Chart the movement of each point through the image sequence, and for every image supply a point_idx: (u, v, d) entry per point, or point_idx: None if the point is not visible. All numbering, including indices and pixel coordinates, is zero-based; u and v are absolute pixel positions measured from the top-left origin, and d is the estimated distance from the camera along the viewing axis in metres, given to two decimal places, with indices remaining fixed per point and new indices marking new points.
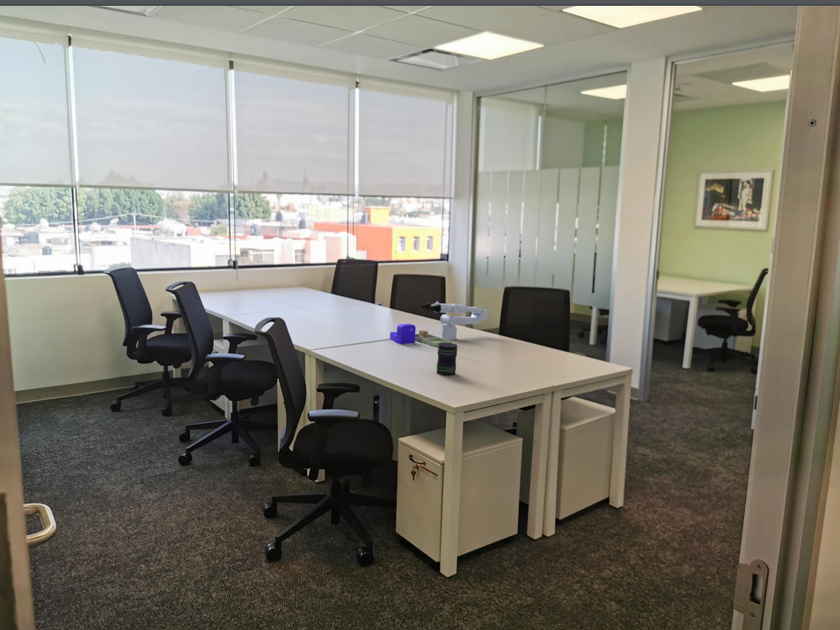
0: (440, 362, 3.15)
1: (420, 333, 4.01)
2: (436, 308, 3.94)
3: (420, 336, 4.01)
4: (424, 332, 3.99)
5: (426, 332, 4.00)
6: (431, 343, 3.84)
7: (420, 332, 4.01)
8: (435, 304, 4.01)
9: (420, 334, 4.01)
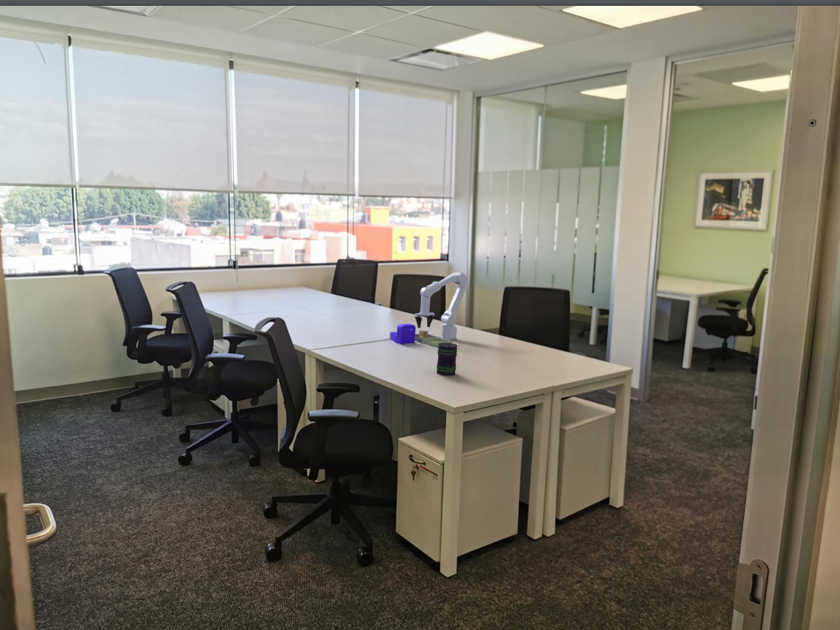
0: (440, 362, 3.15)
1: (420, 333, 4.01)
2: None
3: (420, 336, 4.01)
4: (424, 332, 3.99)
5: (426, 332, 4.00)
6: (431, 343, 3.84)
7: (420, 332, 4.01)
8: None
9: (420, 334, 4.01)
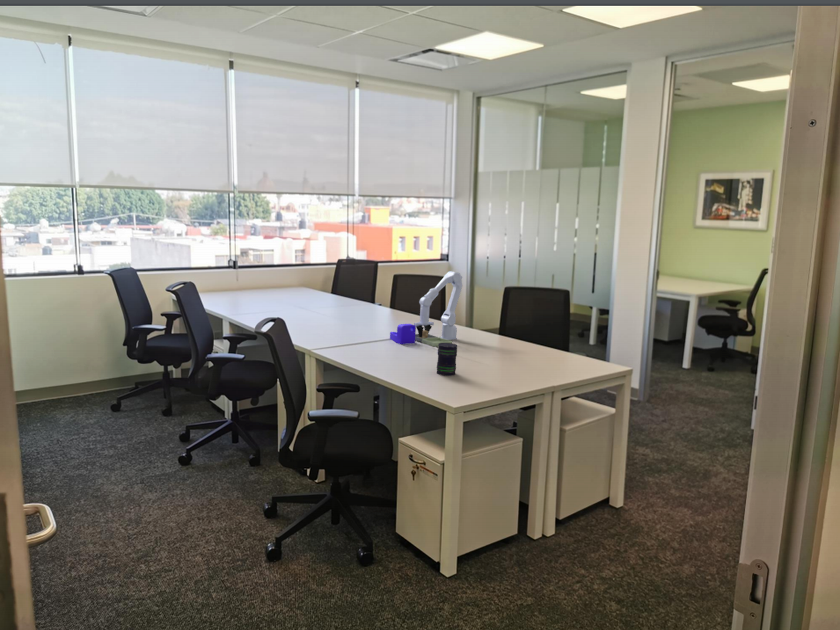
0: (440, 362, 3.15)
1: None
2: (420, 329, 3.99)
3: None
4: (424, 332, 3.99)
5: (426, 332, 4.00)
6: (431, 343, 3.84)
7: None
8: None
9: None
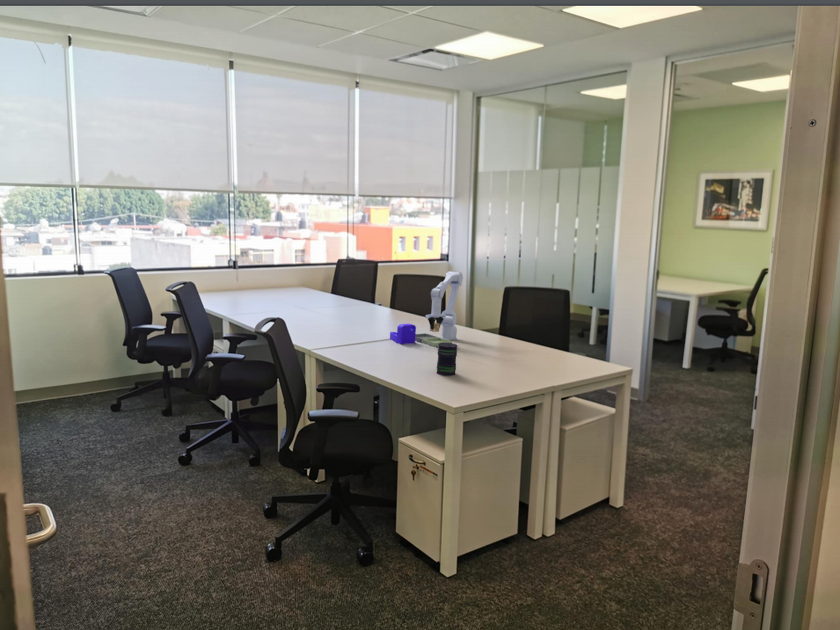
0: (440, 362, 3.15)
1: None
2: (431, 321, 3.89)
3: (431, 329, 3.91)
4: (435, 324, 3.90)
5: (437, 324, 3.91)
6: (431, 343, 3.84)
7: None
8: None
9: None
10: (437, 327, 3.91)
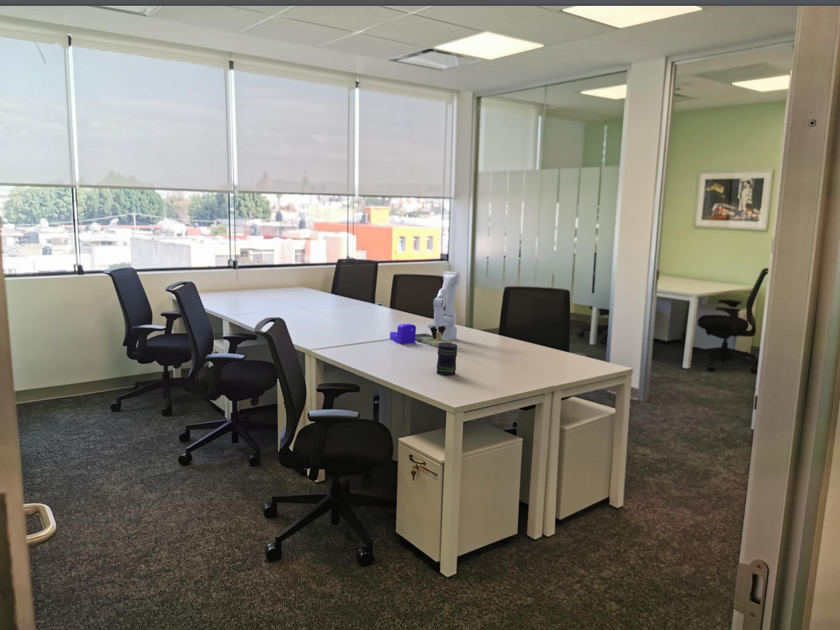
0: (440, 362, 3.15)
1: None
2: None
3: None
4: (438, 334, 3.89)
5: (439, 334, 3.90)
6: (431, 343, 3.84)
7: None
8: None
9: None
10: (439, 336, 3.90)
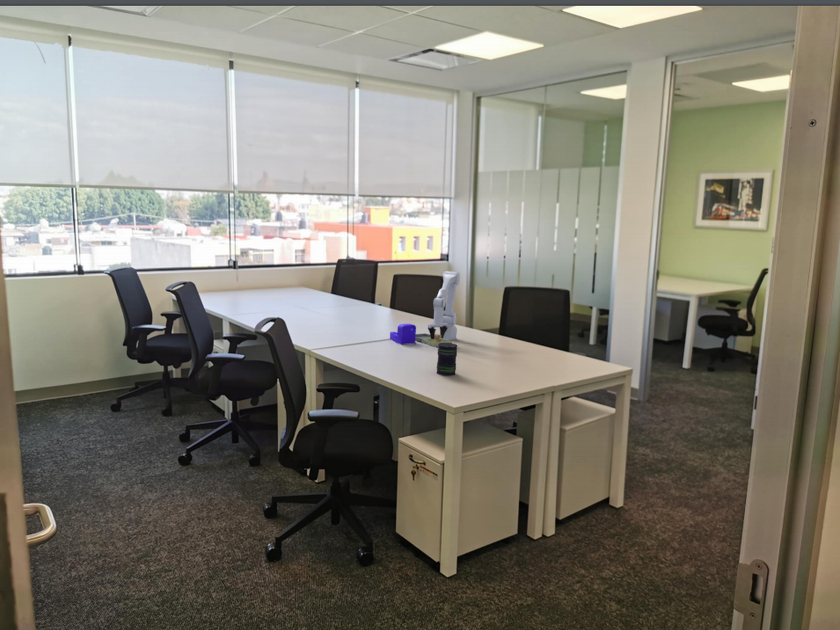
0: (440, 362, 3.15)
1: None
2: None
3: (433, 340, 3.90)
4: (437, 336, 3.89)
5: (439, 336, 3.90)
6: (431, 343, 3.84)
7: None
8: None
9: None
10: (439, 338, 3.90)
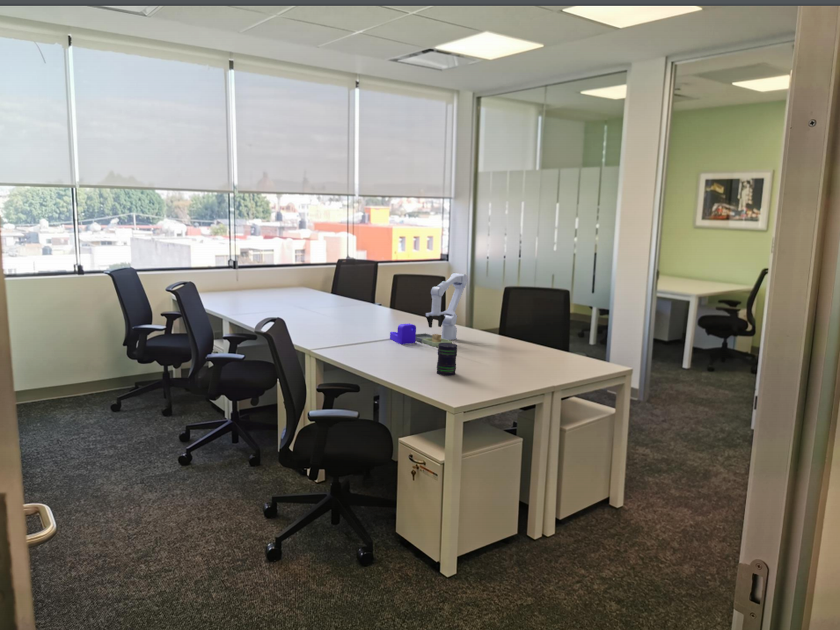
0: (440, 362, 3.15)
1: (433, 337, 3.90)
2: (430, 319, 3.93)
3: (433, 340, 3.90)
4: (437, 336, 3.89)
5: (439, 336, 3.90)
6: (431, 343, 3.84)
7: (433, 336, 3.90)
8: None
9: (433, 338, 3.90)
10: (439, 338, 3.90)
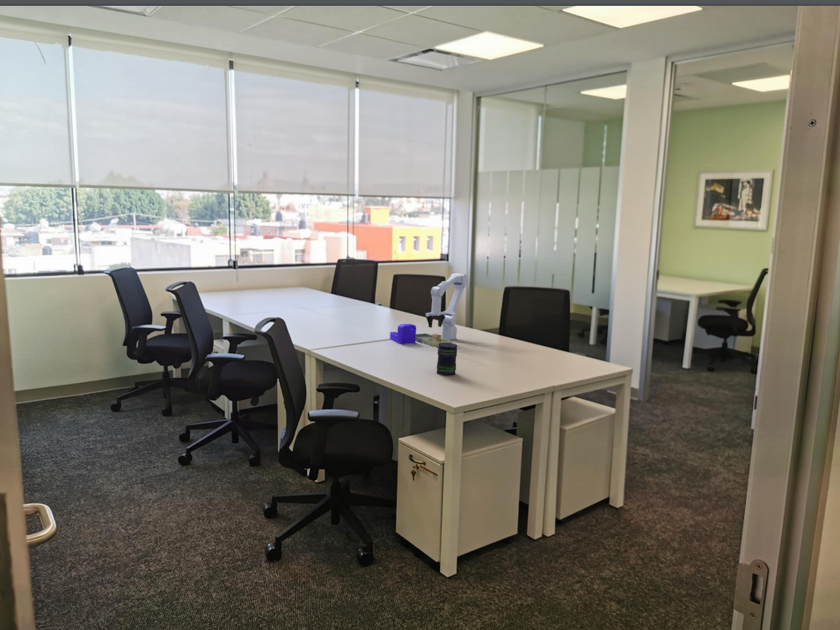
0: (440, 362, 3.15)
1: (433, 337, 3.90)
2: (430, 319, 3.93)
3: (433, 340, 3.90)
4: (437, 336, 3.89)
5: (439, 336, 3.90)
6: (431, 343, 3.84)
7: (433, 336, 3.90)
8: None
9: (433, 338, 3.90)
10: (439, 338, 3.90)
